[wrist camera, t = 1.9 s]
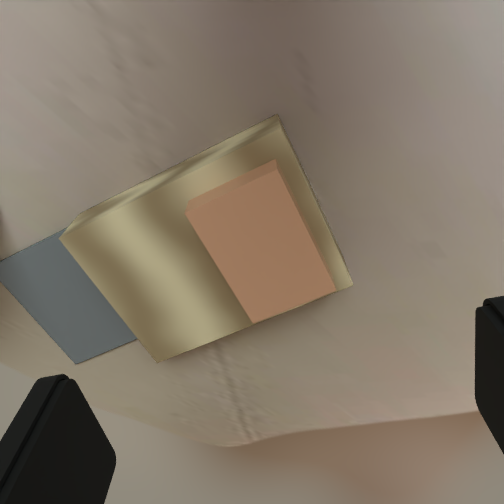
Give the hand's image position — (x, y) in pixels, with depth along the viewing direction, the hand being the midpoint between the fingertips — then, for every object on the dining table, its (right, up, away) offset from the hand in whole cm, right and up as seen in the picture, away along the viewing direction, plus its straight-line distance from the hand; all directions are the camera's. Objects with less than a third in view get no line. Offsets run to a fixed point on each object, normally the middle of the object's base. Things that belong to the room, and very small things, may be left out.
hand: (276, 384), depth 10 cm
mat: (-15, -1, +26) cm, 30 cm away
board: (-3, +4, +23) cm, 24 cm away
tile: (0, +4, +19) cm, 19 cm away
